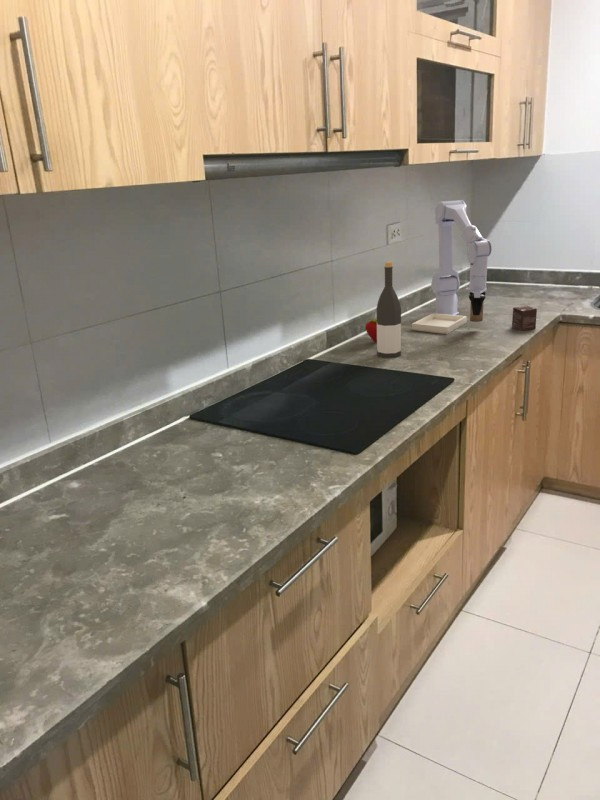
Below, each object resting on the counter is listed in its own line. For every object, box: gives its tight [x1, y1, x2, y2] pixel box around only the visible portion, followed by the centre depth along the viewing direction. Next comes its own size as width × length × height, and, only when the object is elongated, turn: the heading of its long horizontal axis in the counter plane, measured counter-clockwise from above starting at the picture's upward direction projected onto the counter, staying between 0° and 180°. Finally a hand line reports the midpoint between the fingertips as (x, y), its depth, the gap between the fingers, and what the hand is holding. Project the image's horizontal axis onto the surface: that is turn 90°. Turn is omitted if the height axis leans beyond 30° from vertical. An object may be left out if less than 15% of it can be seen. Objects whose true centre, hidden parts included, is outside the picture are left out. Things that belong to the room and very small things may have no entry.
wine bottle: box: [376, 261, 402, 359], centre depth 205 cm, size 8×8×30 cm
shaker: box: [469, 294, 485, 323], centre depth 230 cm, size 5×5×9 cm
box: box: [511, 305, 538, 331], centre depth 231 cm, size 6×6×7 cm
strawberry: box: [364, 318, 377, 344], centre depth 223 cm, size 6×8×10 cm
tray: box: [411, 312, 468, 335], centre depth 240 cm, size 18×14×2 cm
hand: (476, 313), depth 231 cm, fingers closed on shaker, 4 cm apart
